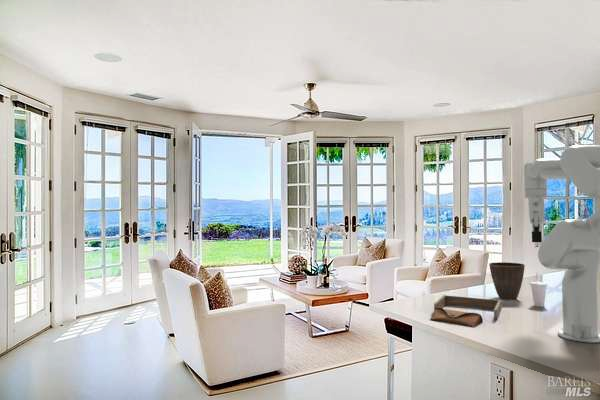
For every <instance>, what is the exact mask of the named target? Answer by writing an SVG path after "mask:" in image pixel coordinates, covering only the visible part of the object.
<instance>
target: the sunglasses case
mask: <svg viewBox="0 0 600 400" xmlns="http://www.w3.org/2000/svg"><path fill="white" fill-rule="evenodd" d="M429 321H432V322H440V323H446V324H452V325H458V326H465V327H470V328H477V327H478V326H480V325H481V324H483V316H482V315H481V314H480V313H478V312H466V311H460V310H454V309H453V310H452V309H447V308H446V309H445V308H444V307H443V308H435V311H434V310H433V313H432V315H431V317H430V318H429Z"/></svg>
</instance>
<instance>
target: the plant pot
mask: <svg viewBox="0 0 600 400" xmlns="http://www.w3.org/2000/svg"><path fill="white" fill-rule="evenodd" d="M488 265H489V271H490V275H491V279H492V281H493V282H492V283H493V285H494V289H495V291H496V293H497V296H498V298H499V300H504V301H515V300H517V299H518V297H519V294H520V291H521V288H522V284H523V279H524V274H525V264H523V263H519V262H505V261H504V262H500V261H499V262H490V263H488Z"/></svg>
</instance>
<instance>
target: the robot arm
mask: <svg viewBox="0 0 600 400" xmlns="http://www.w3.org/2000/svg"><path fill="white" fill-rule="evenodd" d="M523 179H524V185H523V186H524V199H528V203H527V204H528V217H529V223H530V224H531V226H532V229H531V230H532V231H531V242H532V243H540V245H539V248H538V252H537V257H538V262H540V264H541V265H542V266H543V267H545V268H546V269H548V270H549V269H550V270H566V271H565V273H564V275H563V277H562V281H561V293H562V295H561V298H562V328H560V329H558V330H557V335H558V336H560V337H562V338H563V339H565V340H571V341H574V342H581V343H590V344H591V343H595V344H596V343H600V332H599V322H598V321H599V317H598V316H599V314H598V313H599V312H598V311H599V310H598V309H599V308H598V271H599V264H600V206H598V208H596V210H595V211H594V212H593V213H592V214H591V215H590V216H589V217H587V218H575V219H573V218H572V219H571V218H570V219H567V218H566V219H563V220H561V221H559V222H557V223H556V224H555V225H554V226H553V228H552V229H550V232H548V234H547V235H546V236H545V238H544V239H543V240H542V238H543V237H542V231H541V230H542V227H541V225H542V224H545V223H546V210H545V198H548V180H570V182H571V183H572V184H573V185H574V187H575V188H576V189H577V190H578V191H579V192H580V193H581V194H582V195H583V196H585V197H588V198H596V199H597V198H599V199H600V145H598V144H597V145H595V144H591V145H587V144H586V145H582V144H580V145H571V146H569V147H566V148H565V149H564V150H563V151H562V153H561V155H560V157H559V158H537V159H535V160H533V161H528V162H526V163H524V166H523Z"/></svg>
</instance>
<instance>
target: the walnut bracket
mask: <svg viewBox="0 0 600 400" xmlns="http://www.w3.org/2000/svg"><path fill="white" fill-rule="evenodd" d="M446 306H452V307H463V308H473V309H483V310H493V320H494V321H495V322H496V321H498V319H499V317H500V314H501V313H502V312H501V311H502V299H491V298H479V297H467V296H456V295H448V294H447V295H446V294H443V295H442V296H441V297H440V298H439V299H438V300H436V301H435V302H434V303H433V312H434V311H435V308H443V309H444V308H445V307H446Z"/></svg>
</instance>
